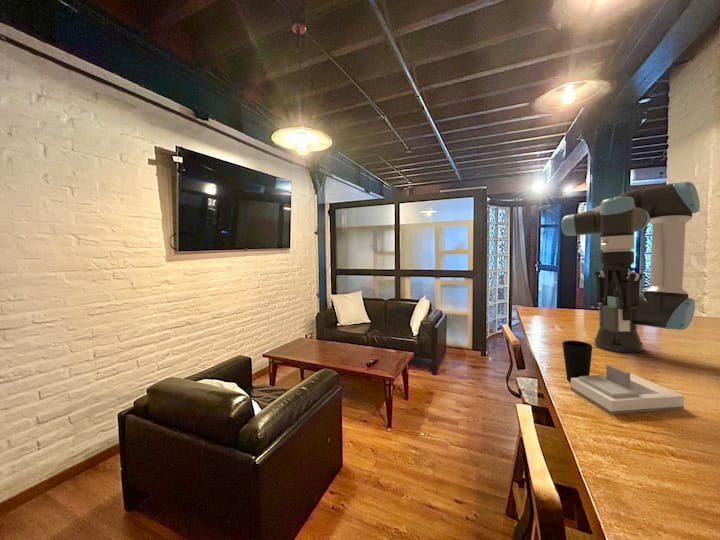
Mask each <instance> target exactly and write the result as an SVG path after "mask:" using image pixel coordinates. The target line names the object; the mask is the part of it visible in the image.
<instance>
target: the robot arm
mask: <svg viewBox="0 0 720 540" xmlns="http://www.w3.org/2000/svg"><path fill="white" fill-rule="evenodd" d="M700 204H701V203H700V197H699V192H698V190H697V188H696V185H695V184H694V183H692V182H690V181H682V182H681V181H680V182H672V183H668V184H667V183H666V184H661V185H655V186H652V187H651V186H650V187H645V188H638V189H634V190H630V191H627V192H625V193H622V194H619V195H617V196H615V197H612V198H607V199H603V200H602V201H601V203H600V205H598V206H596V207H594V208H591V209H589V210H585V211H582V212H580V213H575V214H574V213H573V214H567V215H565V216H563V218H562V219H561V221H560V222H561V224H560V226H561V232H562V233H563V235H565V236H567V237H569V236H570V237H571V236H572V237H573V236H575V237H577V236H586V235H596V234H597V235H598V234H600V251H602V252H600V255H599V257H600V259H599V260H600V264H602V265H603V267H602V269H601V270H599V271H595V272H594V275H595V278H596V297H597V298H596V301H597V303H598V313H599V314H598V316H599V317H598V319H599V321H598V323H599V325H598V330H597V333H596V336H595V337H594V340H593V341H594V343H593V344H594V346H595V347H597V348H600V349H602V350H607V351H611V352H617V353H626V354H627V353H629V354H634V353H641V352H643V351H644V345H643V342H641V337H640V335H639V333H638V328H637V327H638V326H645V327H651V328H660V329H664V330H665V329H666V330H676V331H683V330H686V329H688V327H689V326H690V325H691V324H692V321H693V318H694V315H695V310H696V306H695V305H696V301H695V299H693V298H691V297H689V292H688V291H686V290H685V289H684V288H683V287H684V286H683V282H684V281H683V280H684V264H685V263H684V262H685V244H686V243H685V241H686V224H687V223H688V222H689V221H691V220H692V219H693V214H696V213H697V214H698V212H699V213H700V207H701V205H700ZM649 224H650V225H651V226H652V232H651V248H650V253H651V254H650V266H649V267H650V271H649V286H648V287H647V288H646V289H644V290H643V295H642V294H641V295H640V291H641V290H640V289H641V288H640V287H641V285H640V284H641V281H642V280H641V279H642V278H643V274H642V273H640V272H638V273H637V272H635V271H633V268H632V265H633V264H634V263H635V252H634V251H633V250H634V249H635V232H639V231H642V230H644V229H645V228H646V227H647V226H648V225H649ZM614 290H618V294H619V300H620V306H621V307H618V308H619V309H618V331H620V332H613V331H609V330H606V329H603V306H608V304H607V296H614ZM630 321H631V331H630ZM624 331H628V332H624Z"/></svg>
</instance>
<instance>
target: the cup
mask: <svg viewBox="0 0 720 540" xmlns="http://www.w3.org/2000/svg"><path fill="white" fill-rule="evenodd" d="M561 344H562V351H563V357H564V364H565V365H564V366H565V374H566V380H567V382H569V383H571V378H578V377H579V376H590V374H591V373H590V372H591V365H592V364H591V362H592V355H593V354H592V353H593V345H592V344H591V343H589V342H586V341H579V340H564V341H563V342H562V343H561Z"/></svg>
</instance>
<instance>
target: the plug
mask: <svg viewBox="0 0 720 540" xmlns="http://www.w3.org/2000/svg"><path fill="white" fill-rule="evenodd" d="M607 304H608V306H603V329H606V330H609V331H613V332H620V331H618V309H619V308H618V307H621V306H620V300H619V294H618V289H616V290H614V296H607ZM630 331H631V321H630ZM624 332H628V331H624Z"/></svg>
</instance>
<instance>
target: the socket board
mask: <svg viewBox="0 0 720 540" xmlns="http://www.w3.org/2000/svg"><path fill="white" fill-rule="evenodd" d="M630 388H632V389H634V390H636V391H638V392H640V395H636V396H622V397H611V396H610V395H608V394H606V393H604V392H602V391H600V390H599V389H597V388H595V387H593V386H591V385H590V384H588V383H586V382H584V381H582V380H580V379H579V377H578V378H571V382H570V390H571V391H573V392H574V393H576V394H577V395H579V396H580V397H583V398H584V399H586V400H588V401H589V402H591V403H592V404H594V405H595V406H597V407H599V408H600V409H602V410H603V411H605V412H606V413H609V414H610V415H619V414H621V415H622V414H635V413H636V414H638V413H648V412H663V411H677V410H685V396H684V395H683V394H681V393H678V392H676V391H673V390H671V389H668V388H666V387H664V386H661V385H659V384H657V383H655V382H652V381H649V380H647V379H645V378H643V377H641V376H639V375H636V374H633V373H630Z"/></svg>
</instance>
